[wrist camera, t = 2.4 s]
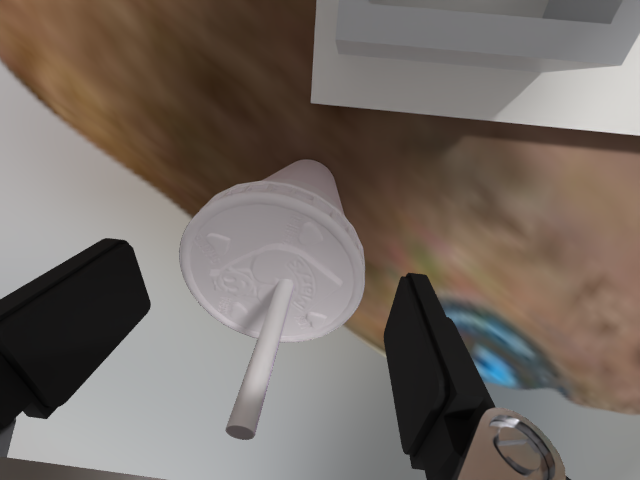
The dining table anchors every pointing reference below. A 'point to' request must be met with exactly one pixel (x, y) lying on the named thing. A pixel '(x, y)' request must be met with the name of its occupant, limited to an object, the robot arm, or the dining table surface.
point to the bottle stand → (484, 60)
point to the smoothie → (274, 269)
